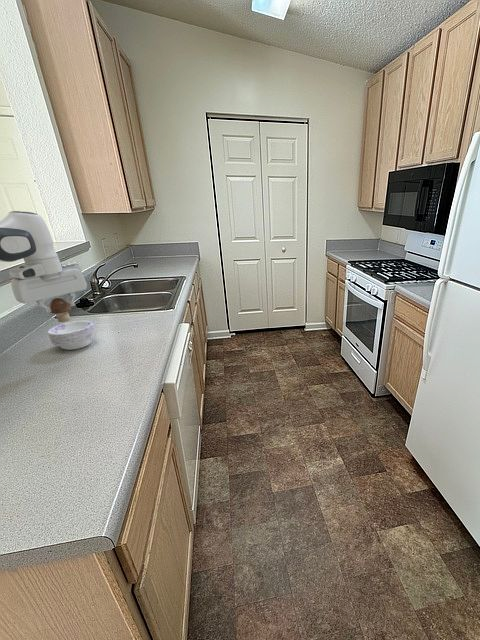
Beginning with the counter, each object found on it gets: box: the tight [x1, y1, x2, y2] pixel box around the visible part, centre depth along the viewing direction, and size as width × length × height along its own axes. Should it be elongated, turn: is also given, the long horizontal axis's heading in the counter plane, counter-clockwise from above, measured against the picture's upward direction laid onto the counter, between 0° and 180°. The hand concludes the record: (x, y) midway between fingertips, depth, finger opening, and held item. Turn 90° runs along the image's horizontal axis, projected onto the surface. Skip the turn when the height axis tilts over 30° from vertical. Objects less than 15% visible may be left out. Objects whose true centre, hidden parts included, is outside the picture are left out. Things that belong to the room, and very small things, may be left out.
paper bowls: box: [47, 320, 97, 351], centre depth 130 cm, size 15×15×8 cm
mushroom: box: [47, 297, 72, 323], centre depth 111 cm, size 6×6×8 cm
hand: (60, 309), depth 111 cm, fingers closed on mushroom, 6 cm apart
